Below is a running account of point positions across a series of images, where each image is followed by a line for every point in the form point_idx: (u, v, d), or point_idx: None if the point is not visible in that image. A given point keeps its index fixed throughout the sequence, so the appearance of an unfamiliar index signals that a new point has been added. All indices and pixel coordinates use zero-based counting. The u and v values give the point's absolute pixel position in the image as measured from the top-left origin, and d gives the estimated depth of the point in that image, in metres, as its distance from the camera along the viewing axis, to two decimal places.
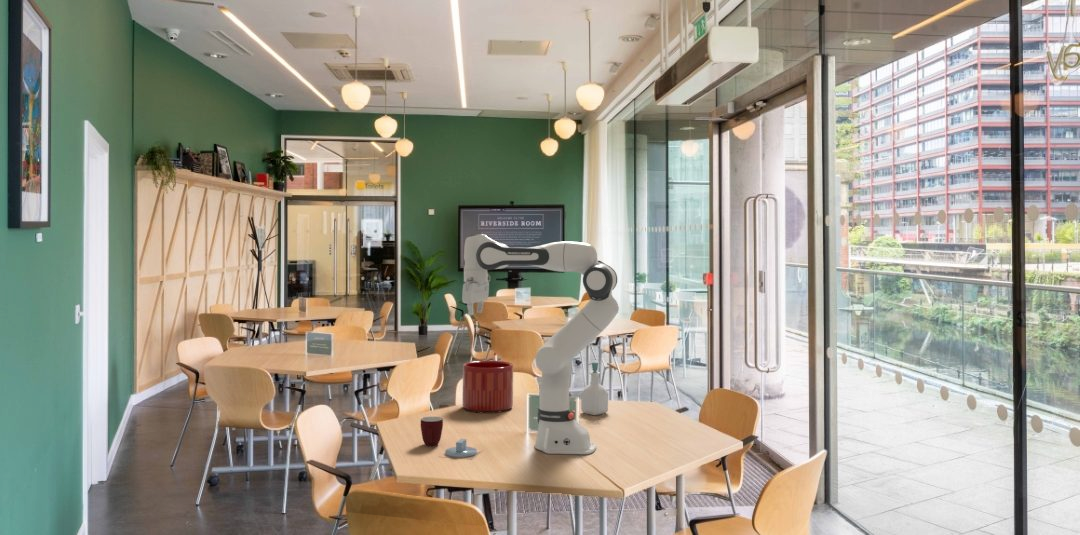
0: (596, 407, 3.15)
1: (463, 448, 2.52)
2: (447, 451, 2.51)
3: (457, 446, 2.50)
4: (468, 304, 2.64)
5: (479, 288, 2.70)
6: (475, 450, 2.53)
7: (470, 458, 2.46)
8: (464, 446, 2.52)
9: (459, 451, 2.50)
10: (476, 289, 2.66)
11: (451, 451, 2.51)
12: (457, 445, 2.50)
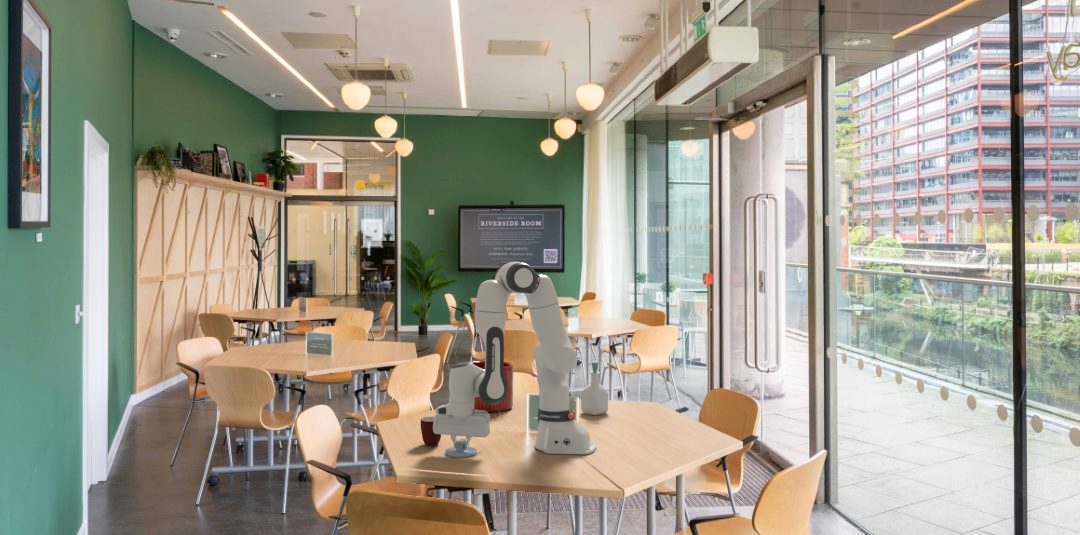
0: (596, 407, 3.15)
1: None
2: (447, 451, 2.51)
3: (457, 446, 2.50)
4: (470, 437, 2.51)
5: None
6: (475, 450, 2.53)
7: (470, 458, 2.46)
8: None
9: (459, 451, 2.50)
10: None
11: (451, 451, 2.51)
12: (457, 445, 2.50)
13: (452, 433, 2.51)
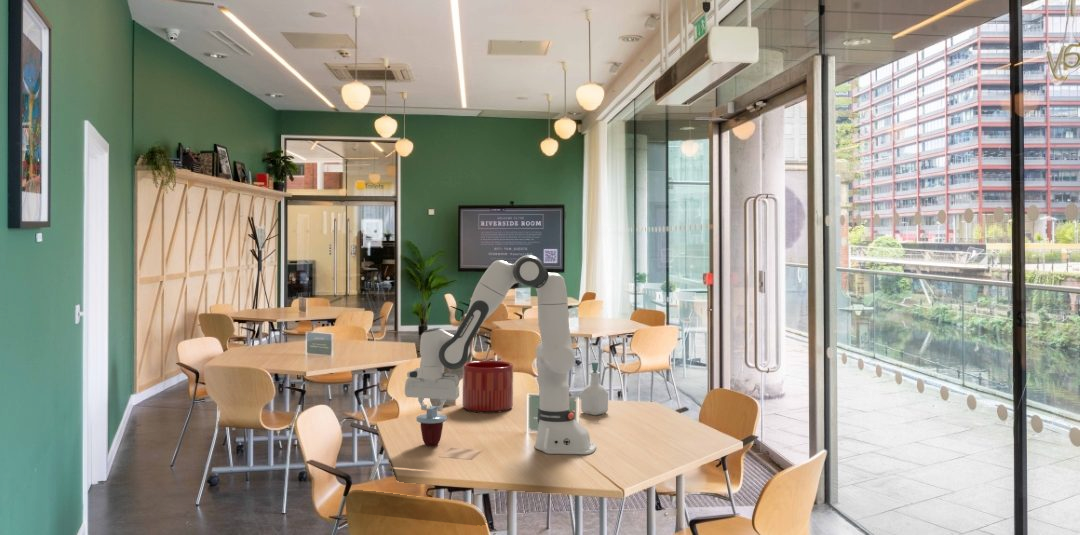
0: (596, 407, 3.15)
1: (434, 414, 2.62)
2: (418, 417, 2.61)
3: (427, 412, 2.60)
4: (444, 400, 2.60)
5: None
6: (445, 417, 2.62)
7: (470, 458, 2.46)
8: (435, 413, 2.62)
9: (429, 417, 2.60)
10: None
11: (421, 417, 2.61)
12: (427, 411, 2.60)
13: (423, 396, 2.61)
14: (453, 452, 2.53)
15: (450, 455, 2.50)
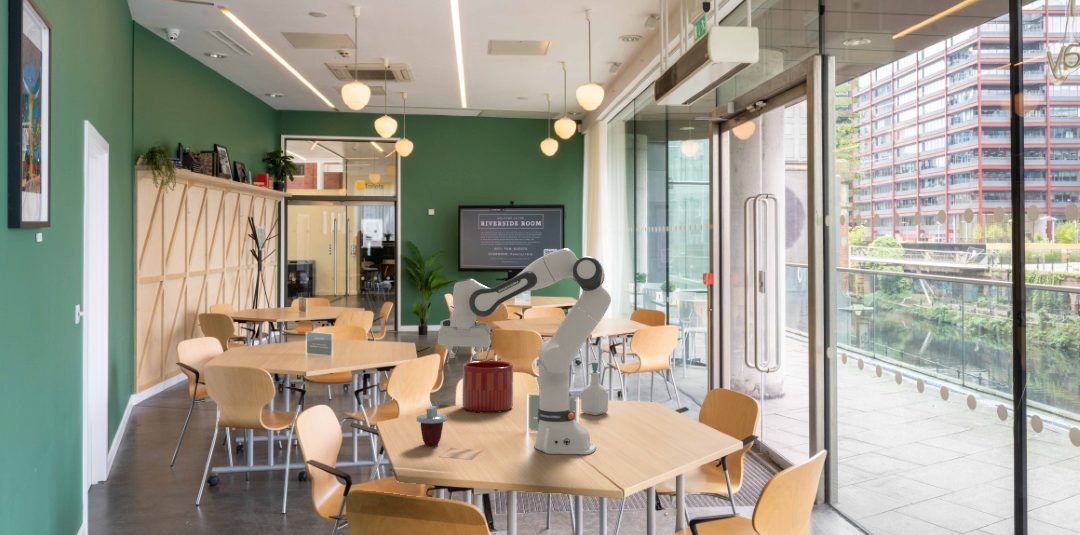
0: (596, 407, 3.15)
1: (434, 414, 2.62)
2: (418, 417, 2.61)
3: (428, 412, 2.60)
4: (480, 348, 2.69)
5: None
6: (445, 417, 2.62)
7: (470, 458, 2.46)
8: (435, 413, 2.62)
9: (429, 417, 2.60)
10: None
11: (421, 417, 2.61)
12: (428, 411, 2.60)
13: (455, 344, 2.70)
14: (453, 452, 2.53)
15: (450, 455, 2.50)
